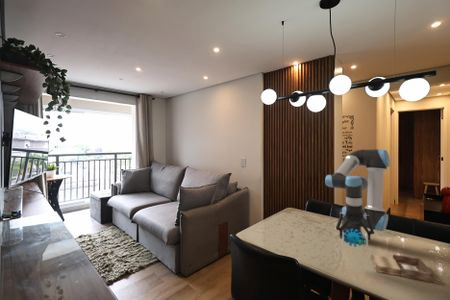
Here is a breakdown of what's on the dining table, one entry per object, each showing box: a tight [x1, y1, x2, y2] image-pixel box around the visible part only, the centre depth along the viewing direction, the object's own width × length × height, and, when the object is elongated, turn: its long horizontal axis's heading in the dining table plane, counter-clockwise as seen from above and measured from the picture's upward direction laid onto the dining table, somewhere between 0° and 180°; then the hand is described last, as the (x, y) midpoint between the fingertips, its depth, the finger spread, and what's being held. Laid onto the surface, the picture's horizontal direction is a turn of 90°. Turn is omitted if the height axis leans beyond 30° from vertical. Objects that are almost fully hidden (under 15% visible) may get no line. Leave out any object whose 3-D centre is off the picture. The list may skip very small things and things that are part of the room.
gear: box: [344, 229, 366, 248], centre depth 119 cm, size 11×6×10 cm
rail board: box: [369, 253, 434, 283], centre depth 116 cm, size 23×16×4 cm
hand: (354, 244), depth 117 cm, fingers closed on gear, 11 cm apart
